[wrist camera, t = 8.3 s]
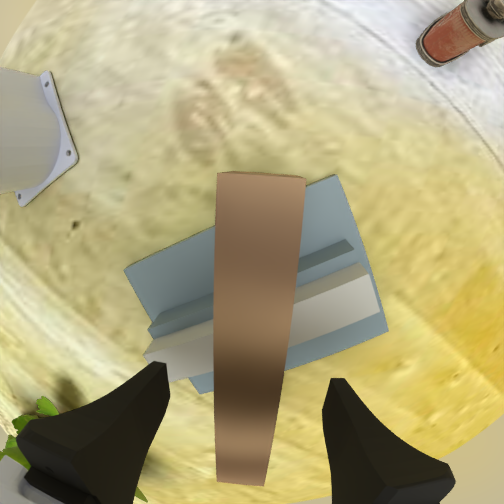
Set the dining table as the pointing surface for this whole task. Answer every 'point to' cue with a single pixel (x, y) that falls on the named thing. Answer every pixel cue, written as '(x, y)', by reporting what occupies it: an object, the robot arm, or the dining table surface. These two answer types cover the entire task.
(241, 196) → the walnut bar
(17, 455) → the potted flower
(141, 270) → the ridge stand
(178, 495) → the dining table surface
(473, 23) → the lighter
